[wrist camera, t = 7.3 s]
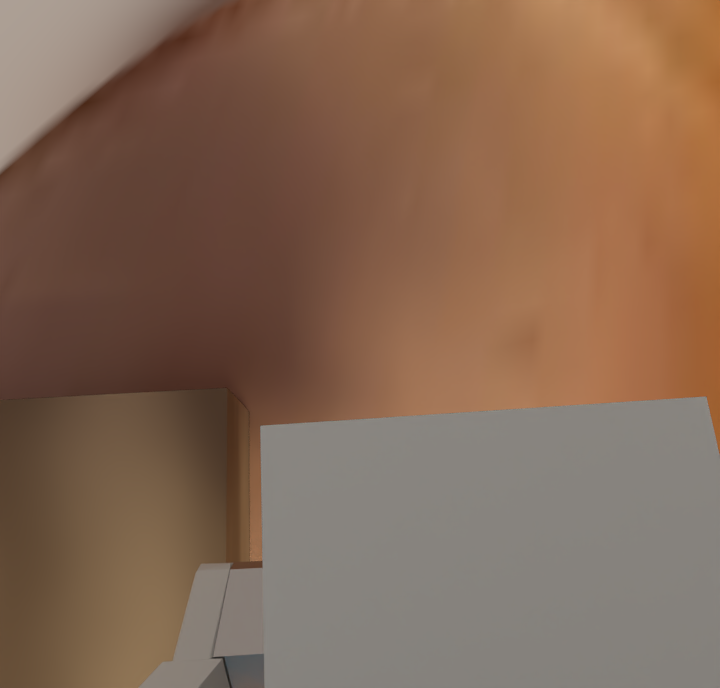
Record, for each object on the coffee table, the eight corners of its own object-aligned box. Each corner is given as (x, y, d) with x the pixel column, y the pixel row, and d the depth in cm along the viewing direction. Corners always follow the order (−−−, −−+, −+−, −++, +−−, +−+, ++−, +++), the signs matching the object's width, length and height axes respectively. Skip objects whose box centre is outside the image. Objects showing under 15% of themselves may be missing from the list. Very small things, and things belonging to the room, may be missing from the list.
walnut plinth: (249, 411, 23) (227, 387, 19) (250, 786, 20) (224, 848, 16) (-77, 429, 23) (-165, 408, 19) (-134, 811, 19) (-256, 880, 16)
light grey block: (532, 465, 15) (706, 396, 7) (566, 703, 13) (829, 947, 6) (320, 478, 15) (260, 425, 7) (330, 717, 13) (269, 981, 6)
